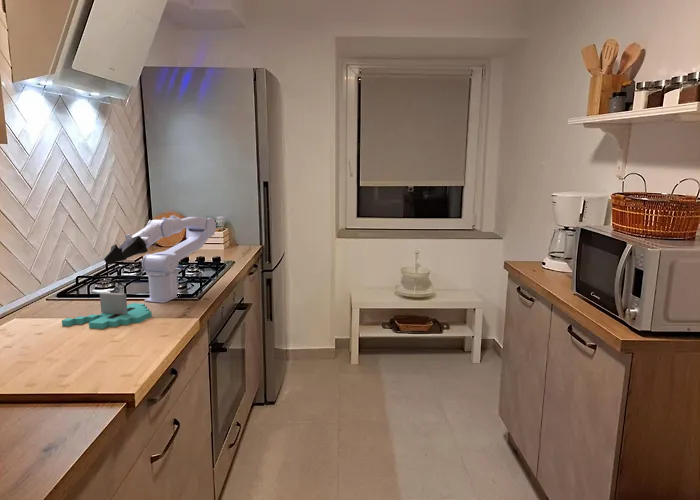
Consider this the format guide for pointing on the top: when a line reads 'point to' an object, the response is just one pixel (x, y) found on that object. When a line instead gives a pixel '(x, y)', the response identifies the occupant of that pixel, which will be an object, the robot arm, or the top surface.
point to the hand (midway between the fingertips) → (115, 258)
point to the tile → (113, 303)
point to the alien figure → (113, 317)
